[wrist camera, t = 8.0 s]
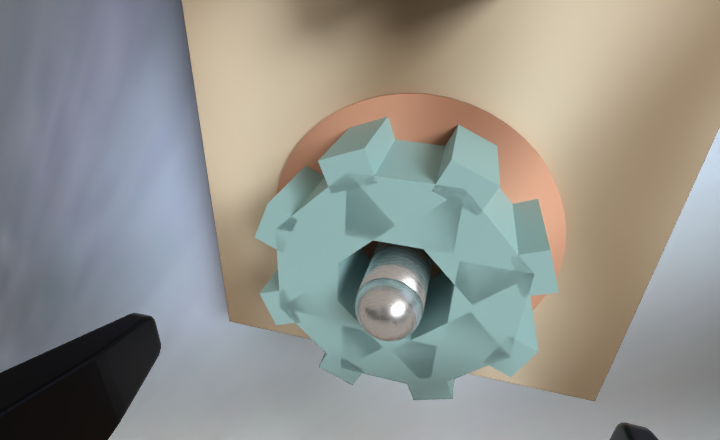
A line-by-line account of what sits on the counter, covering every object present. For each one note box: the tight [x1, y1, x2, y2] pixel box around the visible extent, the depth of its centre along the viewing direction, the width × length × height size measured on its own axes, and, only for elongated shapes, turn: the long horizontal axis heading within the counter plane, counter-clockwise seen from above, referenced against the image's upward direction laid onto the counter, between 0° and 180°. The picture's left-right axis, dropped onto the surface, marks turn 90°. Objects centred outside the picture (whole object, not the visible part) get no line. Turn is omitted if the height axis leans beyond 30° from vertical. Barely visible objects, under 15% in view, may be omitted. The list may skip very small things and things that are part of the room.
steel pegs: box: [355, 241, 433, 342], centre depth 9 cm, size 2×12×4 cm, turn 178°
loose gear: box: [255, 117, 559, 400], centre depth 12 cm, size 7×7×2 cm
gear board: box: [182, 0, 720, 401], centre depth 11 cm, size 13×20×2 cm, turn 178°
